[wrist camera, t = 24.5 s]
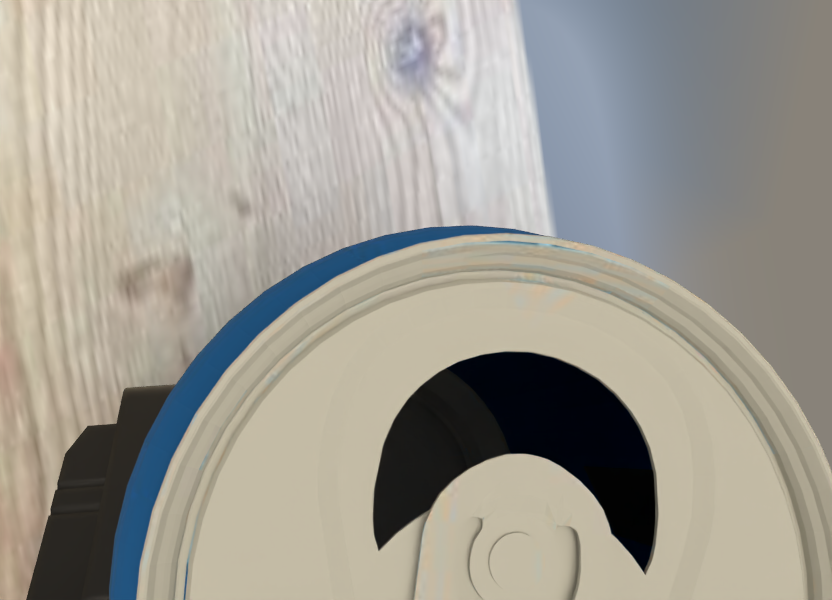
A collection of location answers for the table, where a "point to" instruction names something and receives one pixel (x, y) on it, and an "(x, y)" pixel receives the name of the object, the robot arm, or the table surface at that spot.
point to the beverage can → (474, 439)
